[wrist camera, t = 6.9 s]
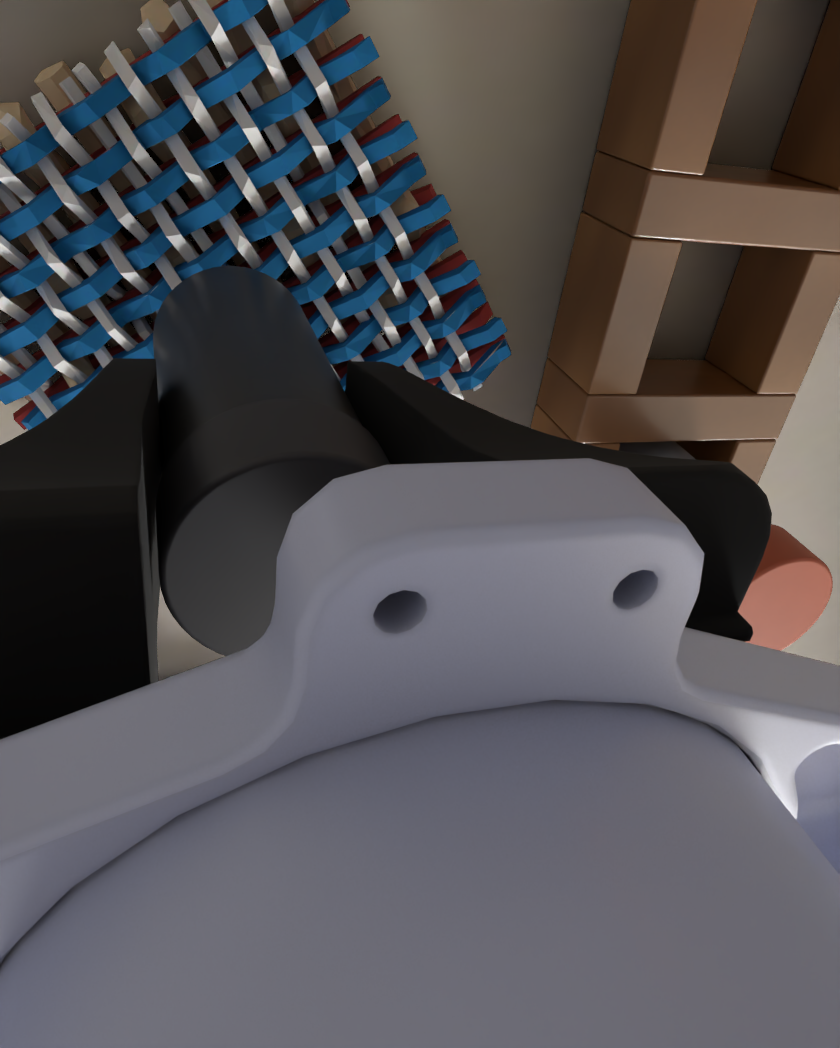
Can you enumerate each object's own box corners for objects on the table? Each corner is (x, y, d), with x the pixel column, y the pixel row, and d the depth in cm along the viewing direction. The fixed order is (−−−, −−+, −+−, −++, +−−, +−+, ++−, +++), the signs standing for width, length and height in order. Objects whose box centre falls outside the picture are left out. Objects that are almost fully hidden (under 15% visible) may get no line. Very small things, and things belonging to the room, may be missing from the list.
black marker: (308, 413, 17) (407, 652, 11) (152, 415, 16) (165, 679, 10) (318, 263, 15) (440, 450, 9) (142, 253, 14) (151, 458, 8)
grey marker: (646, 500, 25) (800, 656, 20) (560, 504, 24) (695, 670, 19) (677, 411, 24) (856, 554, 18) (585, 412, 23) (743, 563, 17)
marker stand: (673, 538, 27) (716, 583, 25) (500, 551, 25) (532, 600, 23) (904, -70, 18) (1000, -76, 16) (660, -132, 16) (736, -148, 14)
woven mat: (-177, 218, 15) (-214, 247, 13) (289, -102, 14) (309, -112, 13) (174, 555, 21) (178, 602, 20) (504, 347, 21) (535, 378, 19)
